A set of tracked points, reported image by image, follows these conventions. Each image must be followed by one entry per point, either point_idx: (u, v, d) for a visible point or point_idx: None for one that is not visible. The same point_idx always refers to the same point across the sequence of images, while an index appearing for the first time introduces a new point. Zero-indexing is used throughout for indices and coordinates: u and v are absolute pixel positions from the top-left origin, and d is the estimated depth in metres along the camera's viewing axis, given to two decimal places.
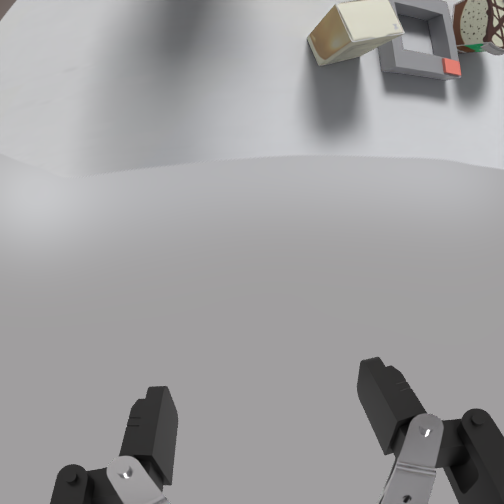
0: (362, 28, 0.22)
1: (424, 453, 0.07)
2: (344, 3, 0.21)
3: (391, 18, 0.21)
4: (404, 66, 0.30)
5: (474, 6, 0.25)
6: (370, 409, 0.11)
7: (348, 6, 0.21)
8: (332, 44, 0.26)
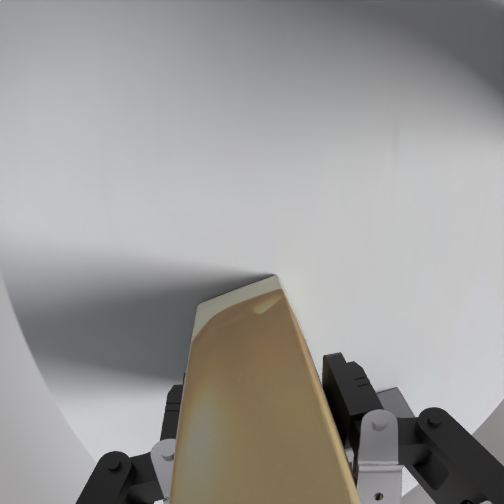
0: None
1: (383, 448, 0.07)
2: None
3: None
4: None
5: None
6: (332, 403, 0.11)
7: None
8: (207, 410, 0.08)
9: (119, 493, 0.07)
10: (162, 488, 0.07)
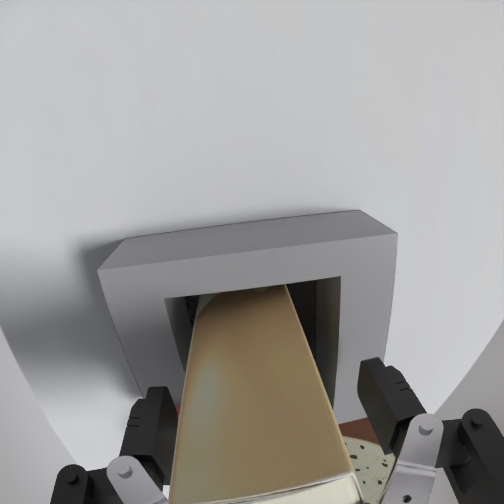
0: None
1: (424, 453, 0.07)
2: (352, 488, 0.05)
3: None
4: (108, 298, 0.12)
5: (371, 470, 0.16)
6: (370, 409, 0.11)
7: (335, 499, 0.05)
8: (211, 371, 0.09)
9: None
10: None
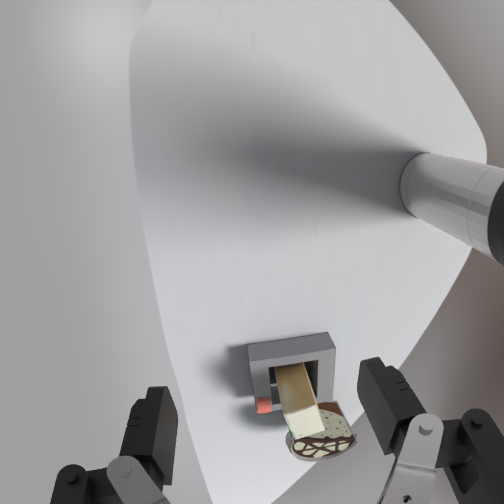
0: (296, 419, 0.35)
1: (424, 452, 0.07)
2: (316, 409, 0.35)
3: (306, 433, 0.36)
4: (251, 368, 0.42)
5: (334, 423, 0.46)
6: (370, 409, 0.11)
7: (313, 411, 0.35)
8: (285, 387, 0.39)
9: None
10: None
